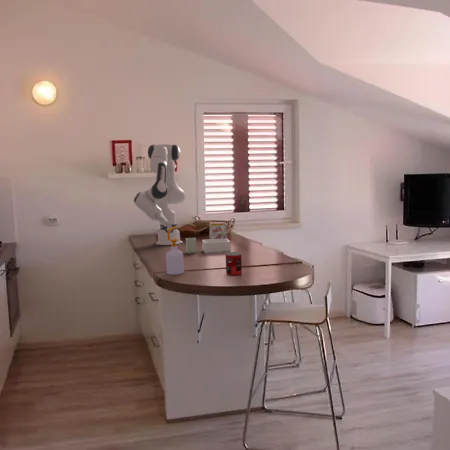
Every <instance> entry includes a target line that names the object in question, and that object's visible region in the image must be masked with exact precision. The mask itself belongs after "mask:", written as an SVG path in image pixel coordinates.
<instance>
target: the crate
mask: <svg viewBox="0 0 450 450" xmlns="http://www.w3.org/2000/svg"><path fill="white" fill-rule="evenodd" d="M201 242H202V243H201V244H202V247H201V248H202V251H203V253H204V255H209V254H226V253H228V252H232V251H231V240H229V239H228V238H227V237H226V238H225V239H202V241H201Z"/></svg>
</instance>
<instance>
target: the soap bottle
mask: <svg viewBox="0 0 450 450" xmlns="http://www.w3.org/2000/svg"><path fill="white" fill-rule="evenodd" d="M175 228H177V229H178V226H177V227H176V226H175V227H172V228H169V229H168V231H167V233H168V240H170V241H171V242H172V244H173V245H170V250H169V251H167V252H166V254H165V262H166V274H167V275H172V276H176V275H177V276H178V275H181V274H184V273H185V269H184V268H185V267H184V254H183V251H181V250H180V249H178V244H176V242H177V241H179V240H178V239H170V231H171V230H173V229H175Z"/></svg>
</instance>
